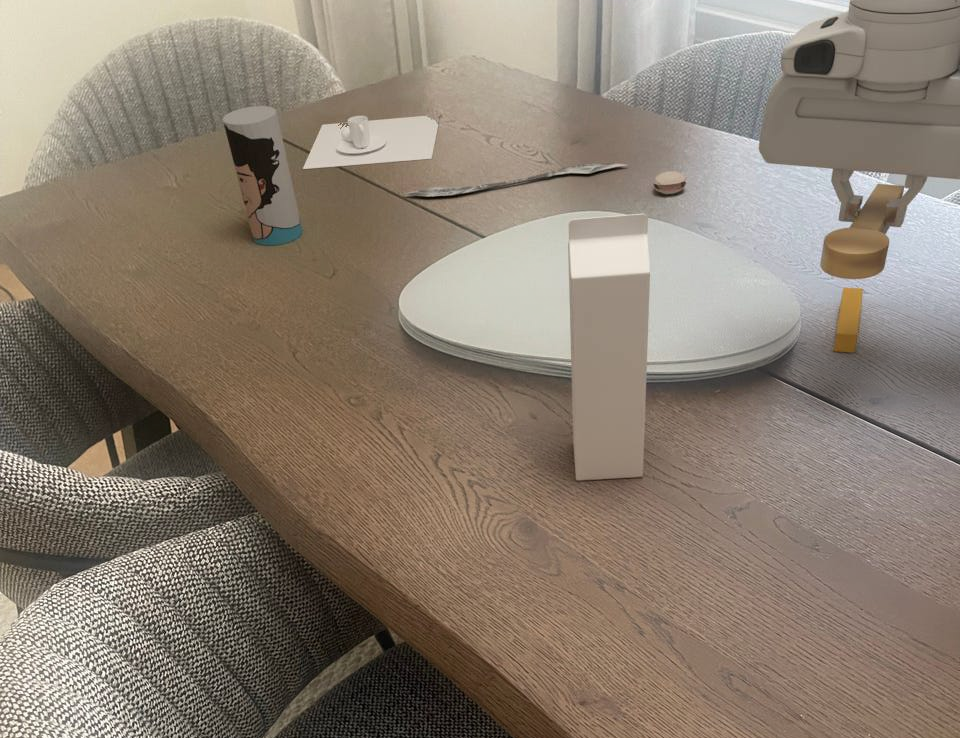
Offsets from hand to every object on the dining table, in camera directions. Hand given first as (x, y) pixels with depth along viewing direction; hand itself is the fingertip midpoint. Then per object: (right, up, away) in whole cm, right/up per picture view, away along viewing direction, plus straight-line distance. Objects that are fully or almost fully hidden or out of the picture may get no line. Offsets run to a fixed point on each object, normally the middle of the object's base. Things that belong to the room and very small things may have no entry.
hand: (870, 221), depth 84 cm
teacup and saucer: (-51, +43, +70) cm, 97 cm away
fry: (+4, -4, +16) cm, 17 cm away
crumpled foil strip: (-29, +28, +52) cm, 66 cm away
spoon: (0, -1, +1) cm, 2 cm away
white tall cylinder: (-62, +18, +47) cm, 80 cm away
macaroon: (-9, +24, +46) cm, 52 cm away
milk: (-22, -20, +4) cm, 31 cm away
